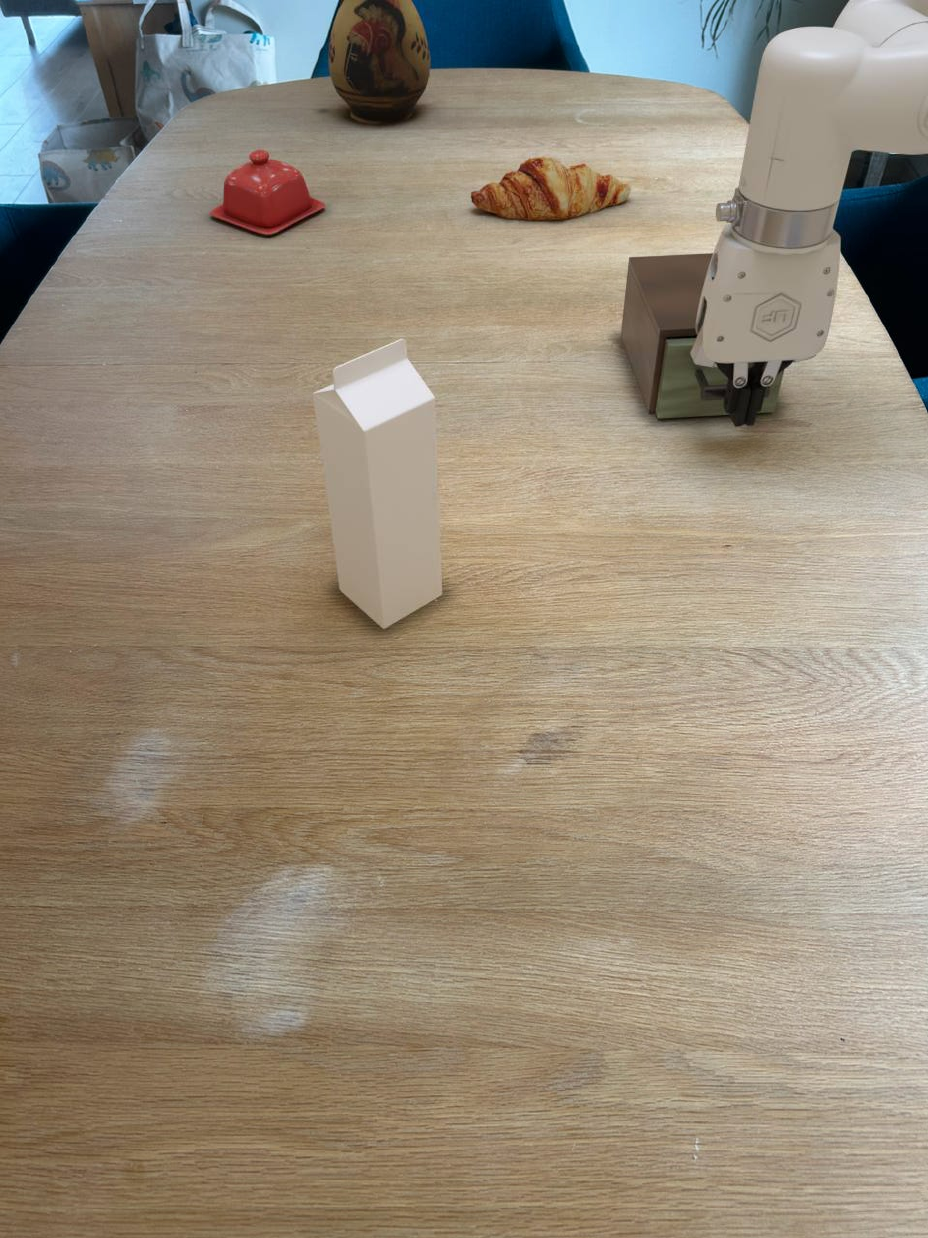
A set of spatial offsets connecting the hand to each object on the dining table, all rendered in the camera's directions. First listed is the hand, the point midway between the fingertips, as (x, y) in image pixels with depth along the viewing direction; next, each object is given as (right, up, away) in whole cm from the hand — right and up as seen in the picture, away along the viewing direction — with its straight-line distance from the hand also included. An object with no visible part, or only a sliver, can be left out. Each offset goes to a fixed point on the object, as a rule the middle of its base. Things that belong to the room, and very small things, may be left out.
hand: (739, 417), depth 90 cm
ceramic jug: (-38, +61, +68) cm, 99 cm away
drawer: (-1, +5, +10) cm, 11 cm away
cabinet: (-1, +7, +13) cm, 15 cm away
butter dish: (-50, +34, +42) cm, 74 cm away
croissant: (-13, +35, +42) cm, 56 cm away
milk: (-31, -16, -9) cm, 36 cm away
